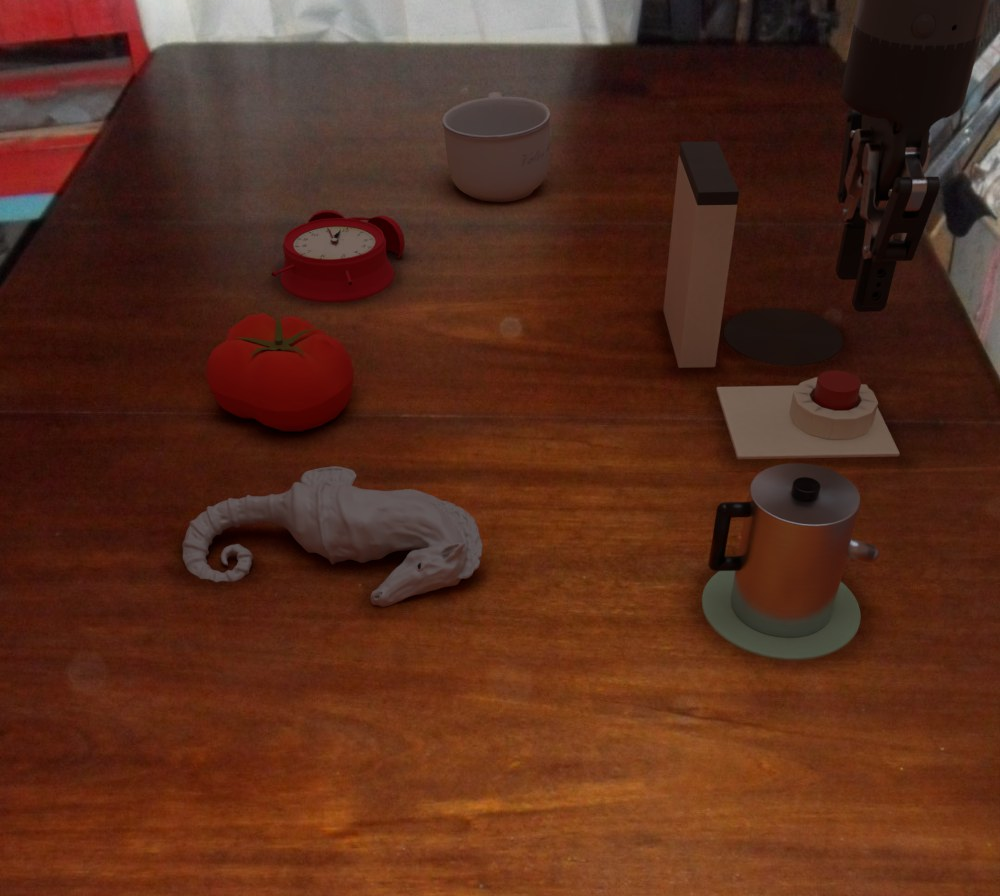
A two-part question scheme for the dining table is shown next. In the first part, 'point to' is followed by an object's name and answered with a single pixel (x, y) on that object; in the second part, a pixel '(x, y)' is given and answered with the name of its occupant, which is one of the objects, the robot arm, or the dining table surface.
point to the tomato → (281, 373)
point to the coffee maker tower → (699, 252)
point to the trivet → (774, 647)
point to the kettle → (790, 547)
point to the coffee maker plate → (783, 337)
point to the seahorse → (350, 531)
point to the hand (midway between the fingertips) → (859, 291)
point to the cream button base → (802, 424)
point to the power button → (837, 390)
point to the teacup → (498, 146)
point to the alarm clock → (340, 257)
